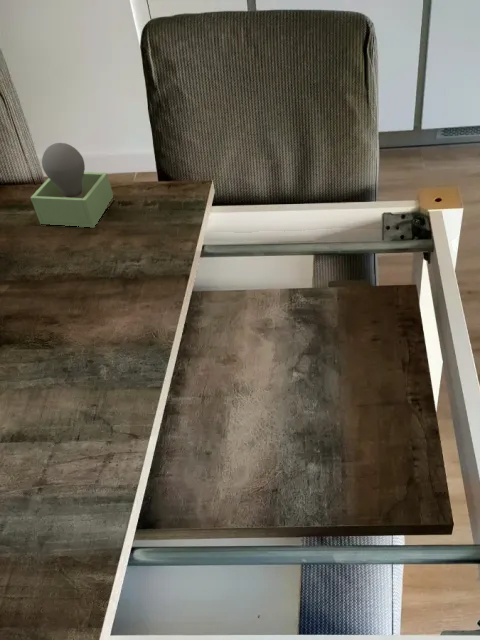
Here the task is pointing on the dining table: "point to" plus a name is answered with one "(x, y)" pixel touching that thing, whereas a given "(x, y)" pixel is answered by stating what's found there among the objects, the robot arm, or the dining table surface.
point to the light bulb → (64, 168)
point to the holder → (73, 202)
